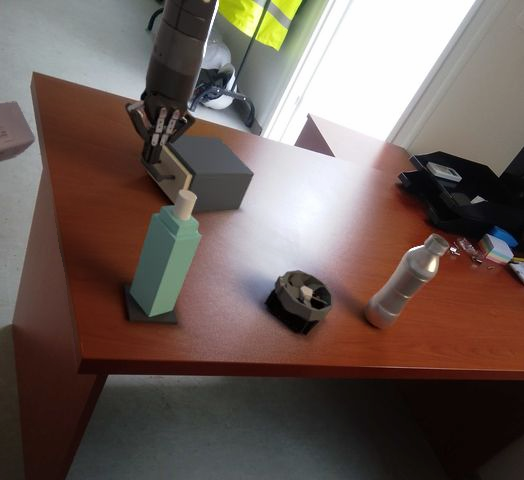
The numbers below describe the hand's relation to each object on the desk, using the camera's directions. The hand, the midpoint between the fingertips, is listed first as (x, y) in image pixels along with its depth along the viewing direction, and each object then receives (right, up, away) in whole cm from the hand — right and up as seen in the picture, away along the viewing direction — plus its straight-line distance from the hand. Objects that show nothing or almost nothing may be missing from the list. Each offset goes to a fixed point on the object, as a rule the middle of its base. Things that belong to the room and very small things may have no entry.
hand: (149, 161), depth 81 cm
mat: (+4, -27, -14) cm, 31 cm away
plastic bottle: (+42, -28, +9) cm, 52 cm away
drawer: (+4, -1, +10) cm, 11 cm away
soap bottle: (+4, -27, -14) cm, 30 cm away
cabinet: (+6, -1, +13) cm, 14 cm away
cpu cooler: (+26, -27, 0) cm, 37 cm away
